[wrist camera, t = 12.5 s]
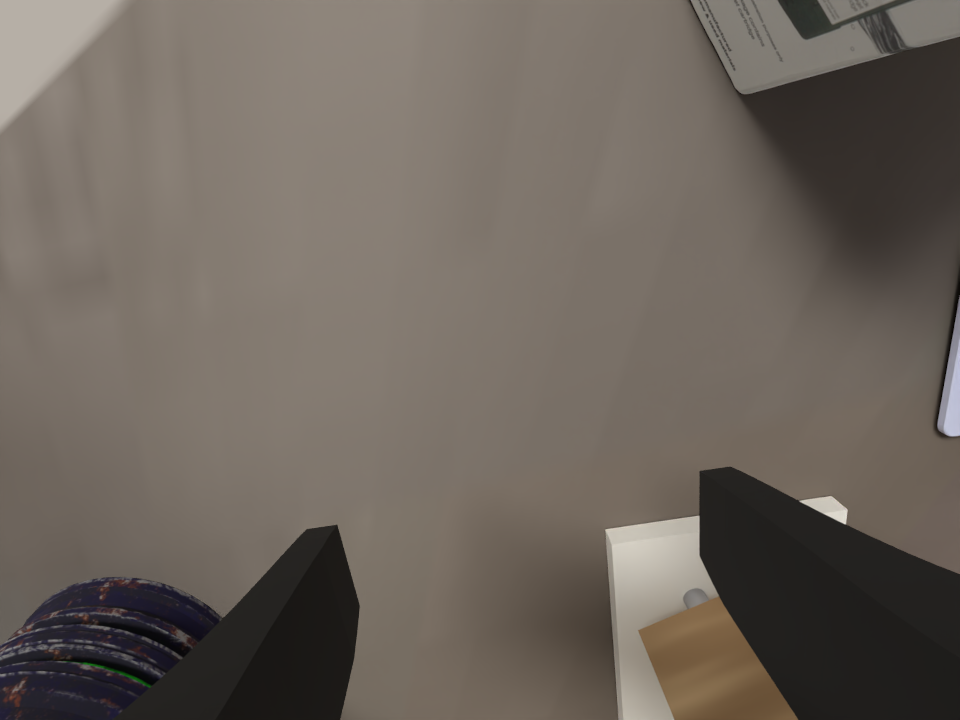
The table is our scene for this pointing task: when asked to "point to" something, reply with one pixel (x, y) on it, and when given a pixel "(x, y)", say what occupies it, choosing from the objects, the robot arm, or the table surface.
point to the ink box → (817, 34)
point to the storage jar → (98, 648)
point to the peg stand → (658, 598)
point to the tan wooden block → (711, 668)
